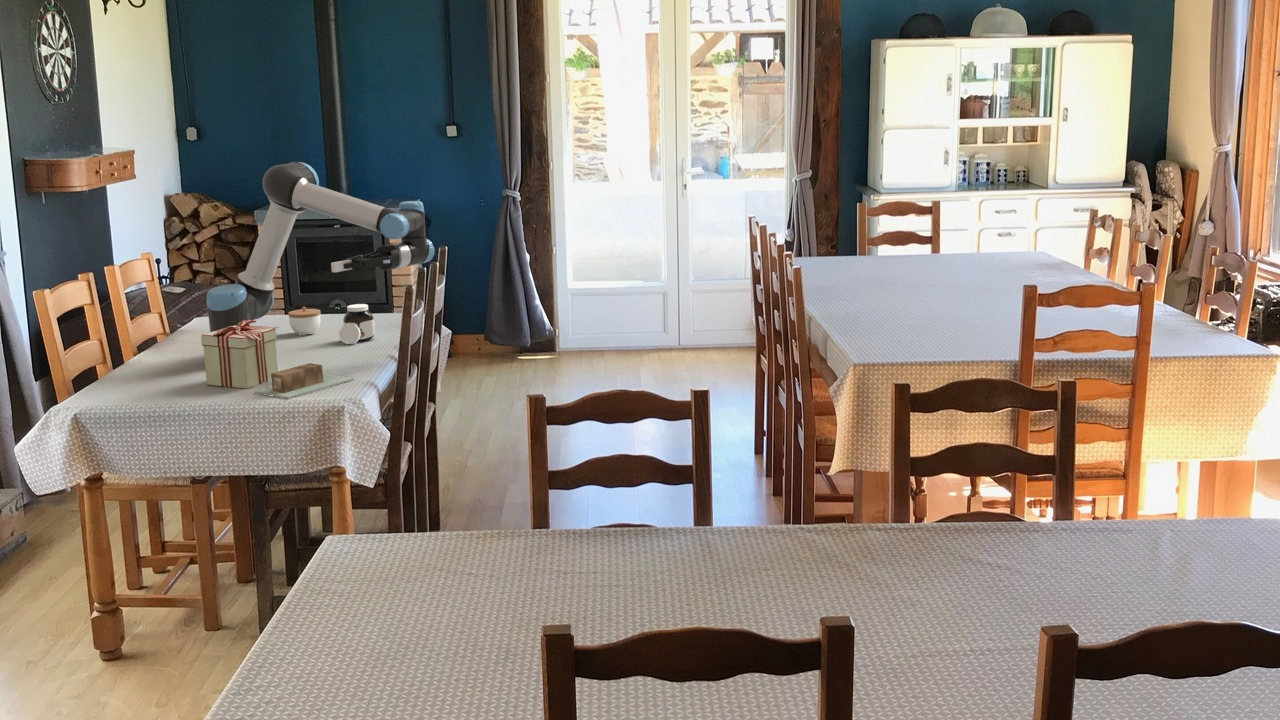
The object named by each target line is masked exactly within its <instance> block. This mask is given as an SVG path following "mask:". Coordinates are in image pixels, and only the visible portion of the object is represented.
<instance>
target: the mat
mask: <svg viewBox="0 0 1280 720" xmlns="http://www.w3.org/2000/svg"><path fill="white" fill-rule="evenodd" d="M351 380H353V381H354V380H355V379H354V378H353V377H349V376H341V375H336V374H335V375H334V374H329V373H323V382H322V383H318V384H315V385H311V386H308V387H304V388H301V389H297V390H294V391H290V392H287V393H282V392H276V391H273V389H272V385H271V386H269V387H265V388H261V389H257V390H254V394H256V393H259V394H258V395H262V394H266V395H265V396H268V395H273V396H278V397H277V398H279V397H283V398H282V399H285V398H291V399H293V398H292V397H294V398H296V397H295V396H298V397H300V396H299V395H301V396H304V395H303V394H305V395H307V393H308V394H311V392H312V393H315V392H318V391H321V389H322V390H324V388H325V389H328V388H327V387H329V388H331V387H330V386H332V387H335V386H334V385H336V386H338V385H337V384H339V385H342V384H341V383H343V384H345V383H344V382H346V383H348V382H347V381H349V382H352V381H351ZM317 390H318V391H317ZM314 391H315V392H314ZM273 396H272V397H273Z"/></svg>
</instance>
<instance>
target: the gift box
mask: <svg viewBox="0 0 1280 720" xmlns="http://www.w3.org/2000/svg"><path fill="white" fill-rule="evenodd" d="M256 322H257V320H243V321H241V322H240V323H239V324H237V326H229V327H227V328H224V329H220V330H217V331H213V332H210V331H209V332H206V333H202V334H201V335H200V339H201V340H200V341H201V342H200V343H201V346H203V355H204V366H205V367H204V368H205V377H206V378H205V379H206V385H207V386H208V385H209V386H215V387H223V388H224V387H225V388H235V387H236V388H237V389H246V388H247V389H250V387H251V388H254V387H255V385H256V386H259V385H261V383H262V384H264V383H263V382H265V381H267V382H269V381H268V380H270V381H272V380H271V373H275V372H278V361H277V360H278V359H277V346H276V345H277V344H276V340H277V330H276V329H279V328H280V327H278V326H276V327H273V326H264V325H263V326H262V325H260V326H259V325H258V326H257V325H256V326H255V325H250V324H253V323H256ZM265 383H266V382H265ZM258 384H259V385H258ZM253 386H254V387H253ZM236 388H235V389H236Z"/></svg>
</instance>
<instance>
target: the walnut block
mask: <svg viewBox="0 0 1280 720" xmlns="http://www.w3.org/2000/svg"><path fill="white" fill-rule="evenodd" d="M323 372H324V371H323V365H322V364H318V363H311V362H310V363H306V364H301V365H298V366H294V367H290V368H287V369H283V370H279V371H278V372H275V373H271V379H272V380H271V386H272V389H273V391H276V392H282V393H287V392H290V391H294V390H297V389H301V388H304V387H308V386H311V385H315V384H318V383H322V382H323V374H324V373H323Z"/></svg>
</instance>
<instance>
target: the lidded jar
mask: <svg viewBox="0 0 1280 720" xmlns="http://www.w3.org/2000/svg"><path fill="white" fill-rule="evenodd" d="M287 313H288V315H287V316H288V320H289V325H290V328H291V329H292V331H293V332H294V333H295V334H296V335H297V334H300V335H299V336H306V335H305V334H312V335H314V334H313V333H315V334H316V332H317V331H318V330H319V328H320V327H321V322H322V321H321V319H322V317H321V313H322V312H321V310H320V309H317V308H307V307H306V306H302V308H300V309H295V310H291V311H288V312H287Z"/></svg>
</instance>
